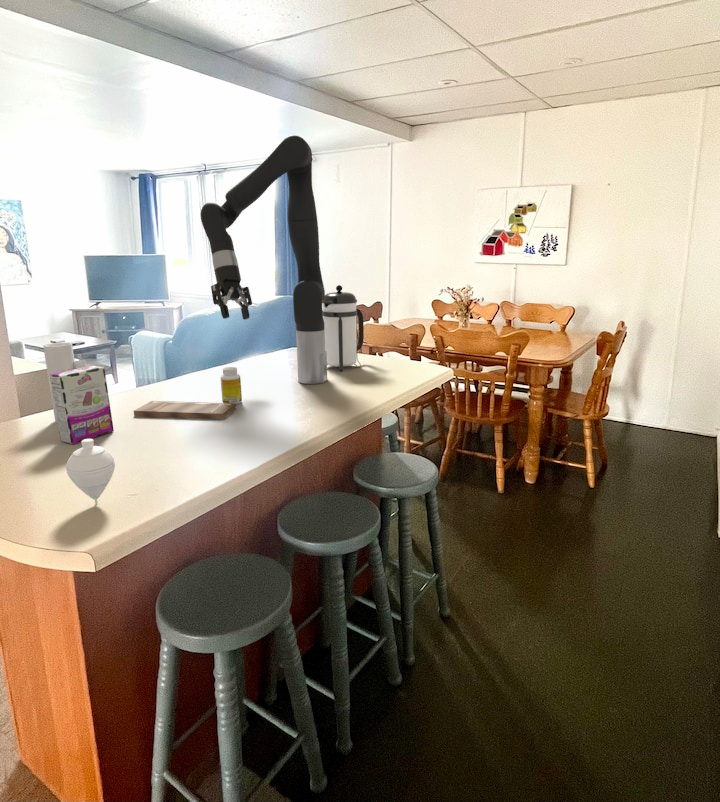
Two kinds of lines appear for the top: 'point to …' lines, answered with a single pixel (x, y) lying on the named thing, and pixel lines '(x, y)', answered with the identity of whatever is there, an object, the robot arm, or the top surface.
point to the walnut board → (185, 410)
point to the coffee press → (342, 328)
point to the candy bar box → (81, 403)
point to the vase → (60, 362)
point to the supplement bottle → (231, 386)
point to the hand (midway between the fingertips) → (236, 318)
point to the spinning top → (91, 468)
